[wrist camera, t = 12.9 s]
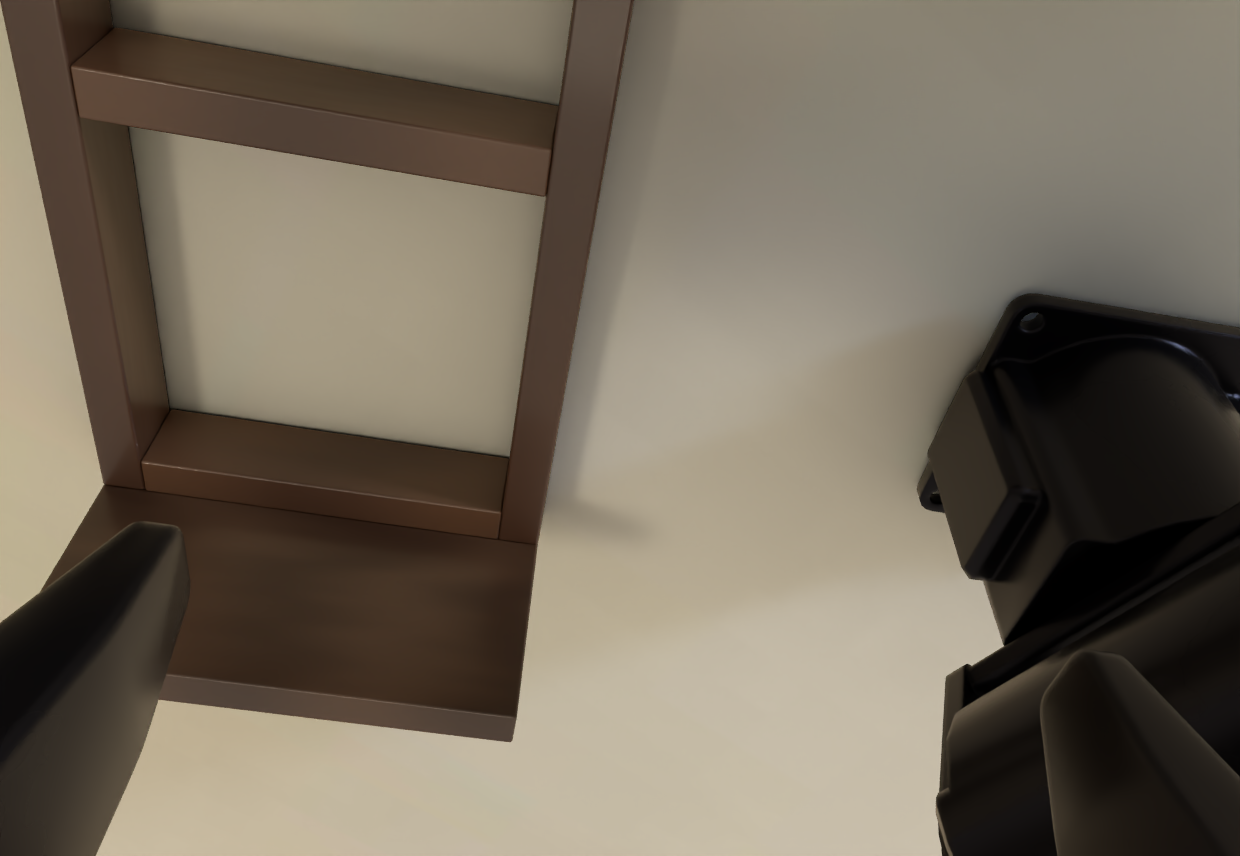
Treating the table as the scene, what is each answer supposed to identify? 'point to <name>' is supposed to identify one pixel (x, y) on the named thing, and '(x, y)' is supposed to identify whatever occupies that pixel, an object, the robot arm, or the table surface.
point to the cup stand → (296, 457)
